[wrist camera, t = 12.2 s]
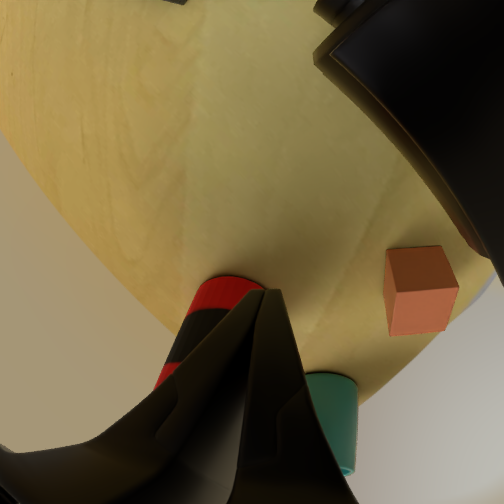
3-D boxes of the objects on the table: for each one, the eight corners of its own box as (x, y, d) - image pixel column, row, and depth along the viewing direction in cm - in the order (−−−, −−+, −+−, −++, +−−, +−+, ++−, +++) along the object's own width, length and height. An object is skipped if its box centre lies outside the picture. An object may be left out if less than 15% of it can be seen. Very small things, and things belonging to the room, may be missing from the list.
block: (441, 245, 19) (459, 287, 16) (432, 289, 22) (445, 331, 18) (386, 249, 20) (396, 292, 17) (383, 293, 23) (389, 336, 19)
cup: (298, 411, 39) (286, 481, 30) (278, 371, 33) (261, 462, 24) (359, 408, 36) (355, 481, 27) (357, 367, 30) (354, 463, 21)
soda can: (284, 282, 24) (256, 424, 15) (274, 337, 29) (249, 452, 20) (194, 266, 25) (133, 390, 16) (200, 322, 30) (158, 428, 20)
